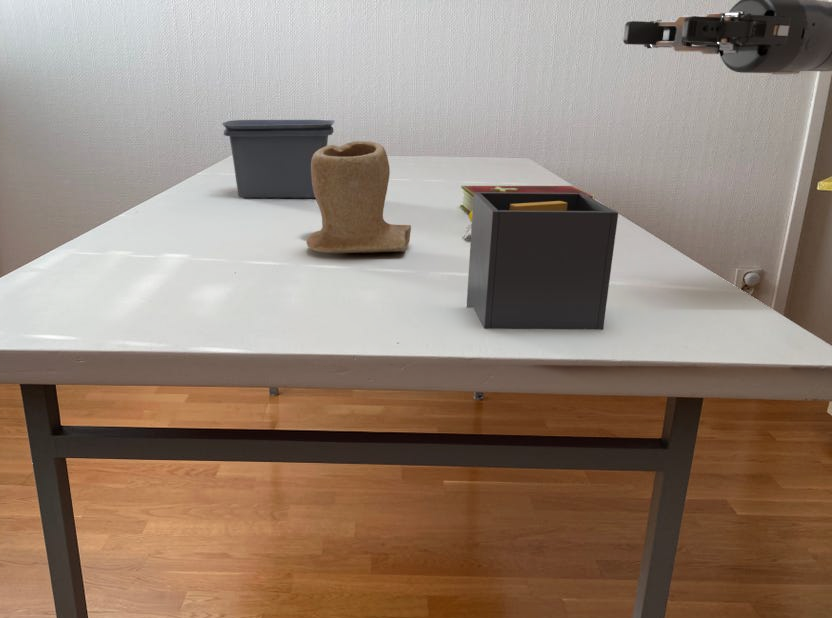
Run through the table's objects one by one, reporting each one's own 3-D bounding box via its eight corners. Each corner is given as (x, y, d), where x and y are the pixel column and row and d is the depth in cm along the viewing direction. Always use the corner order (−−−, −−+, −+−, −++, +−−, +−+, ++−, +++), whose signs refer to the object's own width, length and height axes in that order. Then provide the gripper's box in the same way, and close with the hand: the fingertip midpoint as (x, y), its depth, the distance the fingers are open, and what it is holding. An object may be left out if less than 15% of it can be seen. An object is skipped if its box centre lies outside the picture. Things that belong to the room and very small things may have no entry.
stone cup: (305, 263, 103) (304, 146, 98) (306, 243, 114) (305, 137, 109) (419, 262, 104) (424, 146, 98) (409, 243, 115) (413, 138, 109)
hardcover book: (592, 218, 135) (595, 194, 134) (473, 219, 134) (475, 194, 132) (570, 206, 146) (572, 184, 145) (460, 207, 145) (461, 184, 143)
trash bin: (569, 310, 84) (583, 192, 79) (601, 345, 73) (618, 212, 69) (466, 310, 84) (473, 191, 79) (483, 344, 73) (492, 211, 69)
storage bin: (222, 200, 149) (218, 122, 144) (234, 188, 164) (231, 117, 159) (333, 201, 149) (333, 124, 144) (335, 189, 164) (335, 118, 159)
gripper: (732, 1, 87) (613, -5, 82) (847, -10, 75) (715, -19, 69) (720, 72, 90) (604, 71, 85) (829, 73, 77) (701, 71, 72)
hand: (654, 30), depth 77 cm, fingers open, 8 cm apart
